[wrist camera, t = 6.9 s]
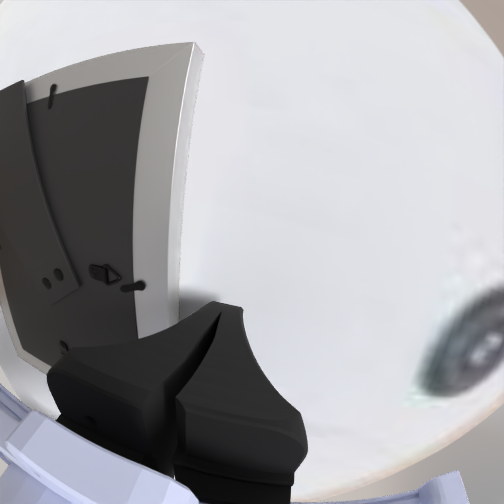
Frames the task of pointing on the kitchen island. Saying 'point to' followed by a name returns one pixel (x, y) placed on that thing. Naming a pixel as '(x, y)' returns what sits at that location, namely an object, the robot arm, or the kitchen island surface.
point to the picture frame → (95, 199)
